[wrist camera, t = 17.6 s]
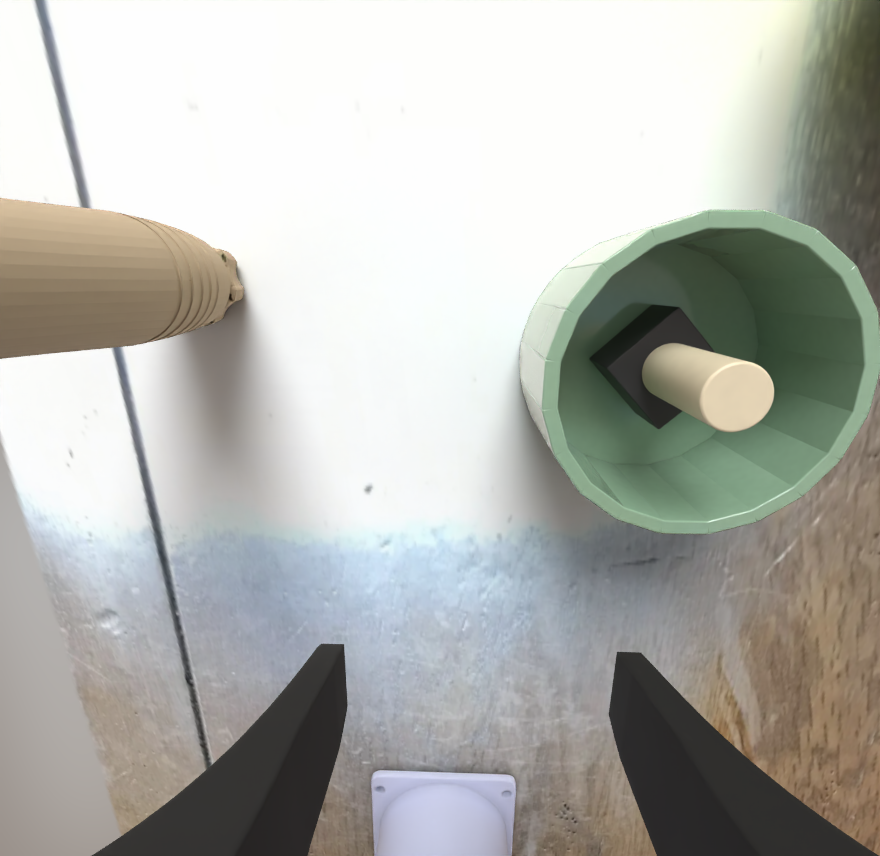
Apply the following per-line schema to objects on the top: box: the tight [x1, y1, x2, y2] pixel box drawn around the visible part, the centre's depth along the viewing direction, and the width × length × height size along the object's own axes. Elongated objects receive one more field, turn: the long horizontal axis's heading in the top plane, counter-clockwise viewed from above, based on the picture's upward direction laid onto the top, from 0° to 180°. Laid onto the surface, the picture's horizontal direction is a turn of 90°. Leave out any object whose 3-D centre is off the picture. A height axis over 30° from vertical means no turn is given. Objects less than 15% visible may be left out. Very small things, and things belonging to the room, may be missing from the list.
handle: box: [0, 198, 244, 359], centre depth 13 cm, size 5×6×15 cm
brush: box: [589, 304, 774, 432], centre depth 17 cm, size 3×3×7 cm
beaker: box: [519, 210, 880, 534], centre depth 18 cm, size 10×10×6 cm
